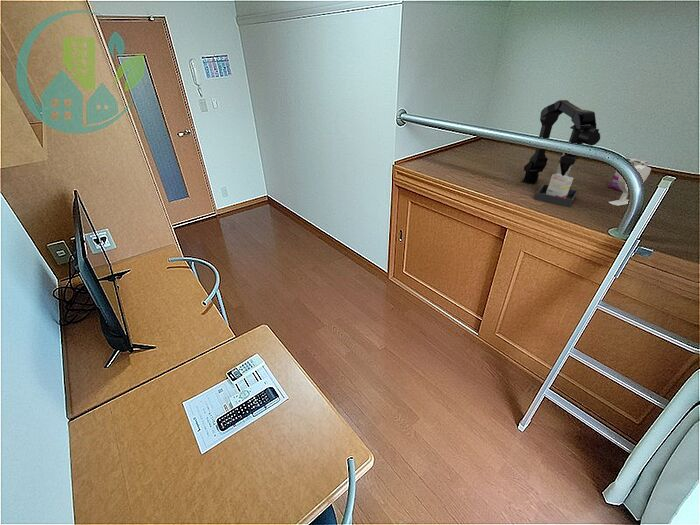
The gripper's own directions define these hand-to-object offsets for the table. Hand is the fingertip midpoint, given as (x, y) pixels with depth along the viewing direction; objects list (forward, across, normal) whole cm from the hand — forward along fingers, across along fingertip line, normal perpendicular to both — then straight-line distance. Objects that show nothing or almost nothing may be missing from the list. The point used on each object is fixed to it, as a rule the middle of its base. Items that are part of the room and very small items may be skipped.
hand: (564, 173), depth 160 cm
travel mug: (+13, +36, +4) cm, 38 cm away
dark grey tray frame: (+13, 0, 0) cm, 13 cm away
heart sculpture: (+13, +14, -27) cm, 33 cm away
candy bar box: (+13, +35, -26) cm, 45 cm away
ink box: (+13, 0, 0) cm, 13 cm away
